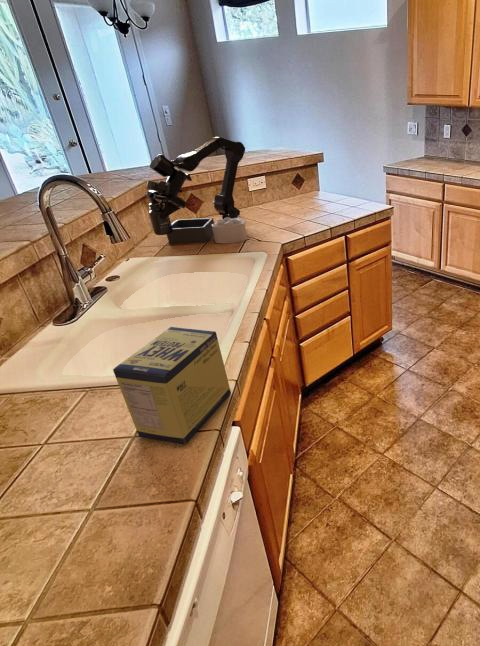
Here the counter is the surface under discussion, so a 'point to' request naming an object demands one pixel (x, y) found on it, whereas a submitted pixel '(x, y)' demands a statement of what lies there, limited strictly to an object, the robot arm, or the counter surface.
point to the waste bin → (191, 231)
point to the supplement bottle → (158, 224)
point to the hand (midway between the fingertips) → (156, 217)
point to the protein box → (174, 384)
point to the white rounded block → (229, 230)
